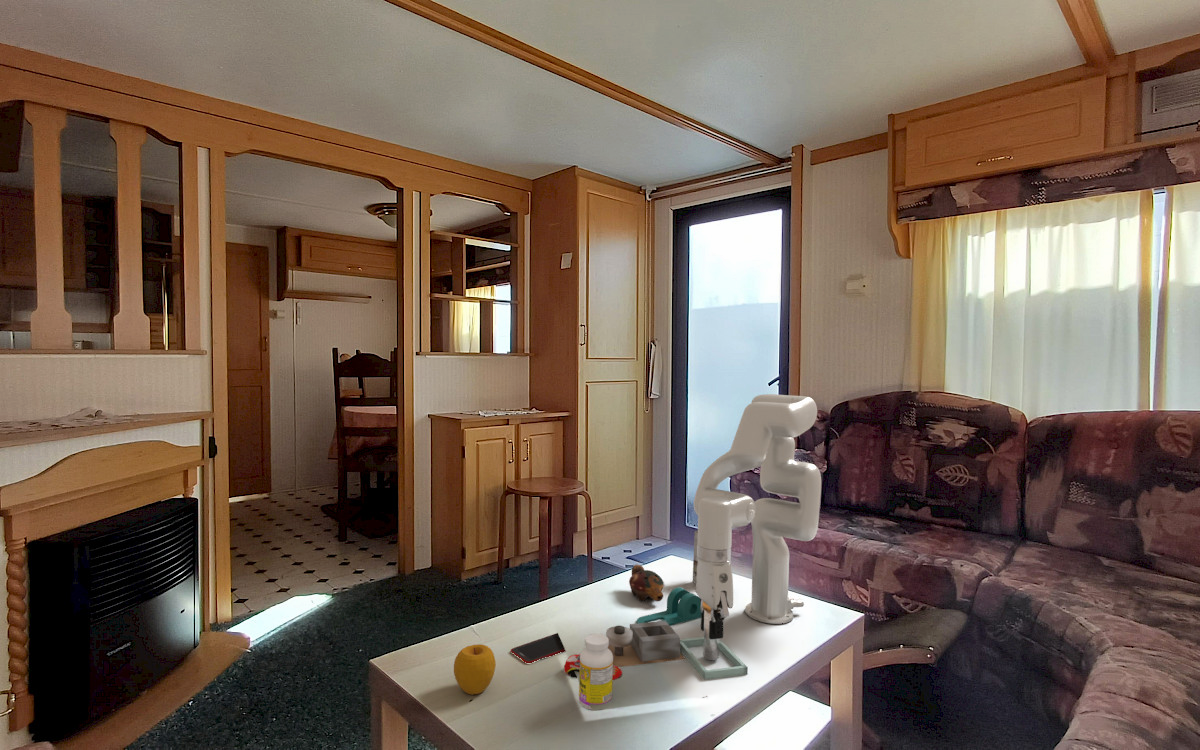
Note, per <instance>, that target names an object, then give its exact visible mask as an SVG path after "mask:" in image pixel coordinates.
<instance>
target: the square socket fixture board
mask: <svg viewBox="0 0 1200 750" xmlns="http://www.w3.org/2000/svg"><path fill="white" fill-rule="evenodd" d="M657 621H658V622H657ZM657 621H651V622H647V623H637V622H636V623H629V627H626V626H624V625H615V626H611V627H609V628H607V629H606V633H605V636H607V637H608V639H609V646H608V649H609V650H610V651H611V652H612V654H613V665H614V666H616V667H618V668H620V667H628V666H629V667H630V666H639V665H647V664H656V663H664V662H674V661H682V660H683V661H684V660H686V657H685V655H684V654H683V653H682V652H681V650H680V640H681V637H680V636H679V635H678V633H677V632H676V630H674V629H673V627H672V625H671V626H670V625H669V624H668V623H667V622H666V621H661V620H657Z"/></svg>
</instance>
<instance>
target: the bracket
mask: <svg viewBox="0 0 1200 750" xmlns="http://www.w3.org/2000/svg"><path fill="white" fill-rule="evenodd" d="M700 608H701V602H700V597H699V596H698V595H697V594H695V593H692V592H690V591H688V590H687V589H685V588H683V587H680V586H679V587H678V586H677V587H675V588H673V589H672V590H671V591H670V592H669V593H668V596H667V599H666V610H664V611H660V612H654V613H651V614H648V615H643V616H639V617H638V618H637V619H636V624H637V623H647V622H658V621H666V622H667V623H668V624H669V625H670V626H671V627H672V626H674V625H677V624H682V623H685V622H686V623H687V622H689V621H695V620H697V619H701V613H703V612H701V609H700Z"/></svg>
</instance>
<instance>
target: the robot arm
mask: <svg viewBox="0 0 1200 750" xmlns="http://www.w3.org/2000/svg"><path fill="white" fill-rule="evenodd" d="M817 417H818V407H817V404H816V402H815V400H814V399H813V398H811V397H809V396H804V395H789V394H787V395H786V394H772V393H767V394H758V395H756V396H754V397H753V398H752V400H751V403H749V404H747V406H746V407H745V408H744V410H743V412H742V416H741V418H740V421H739V424H738V426H737V430H736V432H735V435H734V439H733V441H732V445H731V447H730V449H729V450H728V451H727V452H725V453H724V454H722V455H720V456H719V457H718V458H717V459H716V460H714V461H713V462H712V463H711V464H710V465H709V466H708V467H707V468H706V469H705V470H704V472H703V473H702V475H701V478H700V480H699V483H698V486H697V489H696V492H695V496H694V500H693V509H694V513H695V514H696V516H697V531H698V542H697V560H698V564H697V575H696V584H695V590H696V596H698V597H700V602H701V608H700V609H701V612H703V613H701V618H700V631H702V632H704V609H703V608H702V602H703V601H704V602H705V603H706V604H707V605H708V606H710V607H711V621H709V638H710V639H720V640H721V639H723V638H724V622H725V620H726V618H728V617H730V612H729V609H733V607H734V581H733V580H734V579H733V578H734V577H733V569H732V564H731V562H732V543H733V542H732V539H733V538H732V537H733V528H741V527H746V526H747V525H749V524H750V523H751V531H752V545H753V546H752V575H751V601H750V602H749V603H747V604H746V605H745V607H744V608H745V610H744V611H745V614H746V615H747V616H748V617H749V618H751V619H753V620H755V621H758V622H760V623H766V624H770V625H771V624H772V625H775V624H776V625H778V624H779V625H781V624H782V623H783V624H787V623H790V622H792V621H793V619H794V612H793V609H794V608H802V607H804V605H805V603H804V601H803V599H800V598H799V599H795V598H794V597H792V596H791V597H790V596H789V575H790V574H789V573H790V550H789V547H788V545H787V543H786V541H785V539H792V540H797V541H800V542H801V541H802V542H809V541H812V540H813V539H814V538H815V537H816V536H817V534H818V533H817V532H818V529H819V520H820V508H821V506H820V505H821V497H822V496H821V495H822V474H821V471H820V469H819V467H817V465H816V464H813V463H810V462H804V461H796V460H795V453H796V441H795V439H794V438H796V437H799V436H801V435H802V434H804V433H805V432H806V431H808V430H810V429H811V428H812V427H813V426H814V424H815V423H816V420H817ZM759 467H760V474H759V483H760V487H761V489H762V490H763V491H765V492H766V493H769V494H770V493H771V494H774V495H780V496H784V497H785V496H787V497H791V498H792V497H793V498H797V499H798V501H799V502H794V501H788V500H784V499H783V500H782V499H777V498H771V497H770V498H769V497H764V498H763V497H762V498H759V499H756V500H755V501H754V499H753V498H752V497H751V496H749V495H748V494H745V493H740V492H736V491H735V492H734V491H729V490H724V489H717V488H718V487H719V485H721V483H722V482H724V481H725V480H726V479H727V478H729V477H731V476H734V475H737V474H741V473H744V472H747V471H750V470H753V469H757V468H759ZM784 538H785V539H784ZM719 604H720V606H718V607H717V605H719ZM717 610H720V612H718V613H716V615H715V611H717Z"/></svg>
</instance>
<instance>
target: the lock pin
mask: <svg viewBox="0 0 1200 750" xmlns="http://www.w3.org/2000/svg"><path fill="white" fill-rule="evenodd" d="M718 606H720V604H719V605H717V607H718ZM702 608H703V609H704V631H703V637H704V640H703V645H702V647H703V649H702V651H703V652H702V657H703V658H705V659H706V660H708V661H716V660H718V659H719V658H720V649H719V639H710V638H709V621H711V607H710V606H708V605H707V604H706V603H705V602H704V601H703V602H702ZM718 612H720V610H717V611H715V615H716V613H718Z"/></svg>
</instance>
